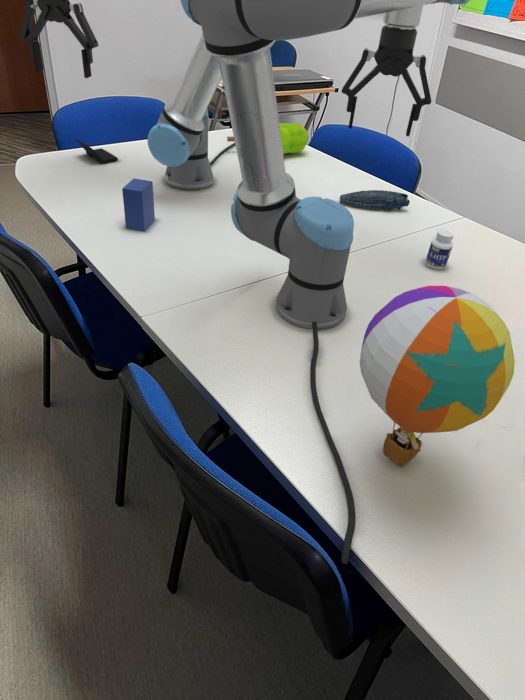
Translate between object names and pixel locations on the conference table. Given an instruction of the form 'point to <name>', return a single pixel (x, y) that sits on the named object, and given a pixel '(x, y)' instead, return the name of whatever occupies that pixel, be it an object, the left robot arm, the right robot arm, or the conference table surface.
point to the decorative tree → (290, 137)
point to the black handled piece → (98, 153)
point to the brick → (138, 204)
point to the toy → (435, 364)
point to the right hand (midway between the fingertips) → (378, 131)
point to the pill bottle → (440, 249)
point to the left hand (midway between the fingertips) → (63, 73)
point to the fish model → (376, 199)
